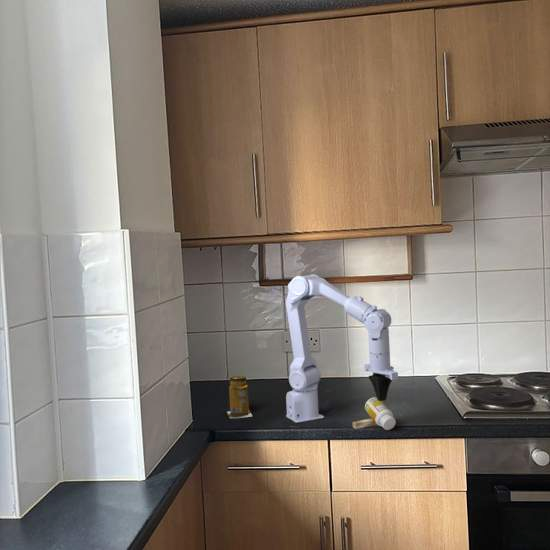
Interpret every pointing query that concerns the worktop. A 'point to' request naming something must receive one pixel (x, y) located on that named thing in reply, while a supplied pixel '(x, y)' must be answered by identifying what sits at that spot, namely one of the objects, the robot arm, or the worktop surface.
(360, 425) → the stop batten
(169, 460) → the worktop surface
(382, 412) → the supplement bottle
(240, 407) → the condiment
